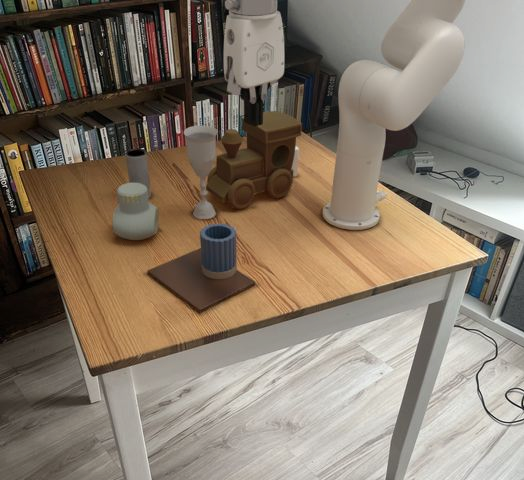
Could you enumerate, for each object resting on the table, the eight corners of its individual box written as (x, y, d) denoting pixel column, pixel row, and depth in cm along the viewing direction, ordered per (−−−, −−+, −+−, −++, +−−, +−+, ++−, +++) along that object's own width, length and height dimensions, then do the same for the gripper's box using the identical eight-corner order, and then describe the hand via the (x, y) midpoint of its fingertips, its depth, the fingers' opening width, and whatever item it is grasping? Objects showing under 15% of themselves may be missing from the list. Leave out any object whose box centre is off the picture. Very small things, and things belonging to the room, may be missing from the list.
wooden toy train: (272, 177, 140) (275, 107, 129) (300, 194, 133) (305, 123, 122) (202, 195, 131) (198, 123, 120) (227, 215, 124) (226, 140, 113)
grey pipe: (153, 198, 129) (148, 155, 123) (133, 201, 128) (127, 157, 121) (148, 190, 133) (143, 147, 126) (129, 193, 131) (123, 149, 124)
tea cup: (216, 219, 105) (192, 233, 101) (243, 231, 102) (219, 245, 98) (217, 256, 110) (194, 270, 106) (243, 268, 107) (220, 283, 103)
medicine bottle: (262, 168, 144) (263, 120, 136) (288, 165, 145) (291, 117, 138) (270, 179, 139) (272, 130, 131) (297, 176, 140) (301, 128, 132)
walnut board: (202, 250, 113) (202, 247, 113) (255, 285, 104) (255, 281, 104) (147, 274, 106) (147, 270, 106) (199, 313, 98) (199, 309, 97)
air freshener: (122, 220, 122) (115, 176, 115) (160, 220, 122) (156, 176, 115) (113, 246, 113) (105, 200, 107) (154, 247, 114) (149, 201, 107)
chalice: (214, 223, 122) (212, 140, 110) (184, 219, 123) (178, 136, 111) (223, 207, 127) (221, 127, 115) (194, 204, 128) (189, 124, 116)
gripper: (232, 15, 81) (235, 140, 94) (303, 1, 89) (298, 119, 101) (200, 6, 85) (207, 128, 98) (270, -6, 93) (269, 108, 105)
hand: (253, 123), depth 99 cm, fingers closed
